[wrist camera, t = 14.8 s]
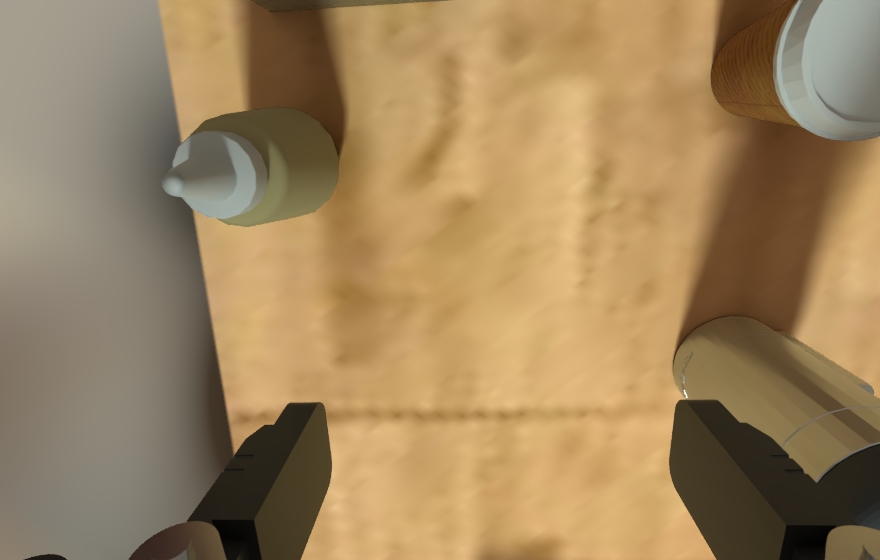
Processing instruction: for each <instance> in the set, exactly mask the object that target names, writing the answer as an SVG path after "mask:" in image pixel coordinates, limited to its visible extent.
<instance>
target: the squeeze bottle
mask: <svg viewBox="0 0 880 560" xmlns="http://www.w3.org/2000/svg"><path fill="white" fill-rule="evenodd" d="M338 173H339V157H338V154H337V151H336V148H335V145H334V142H333V139H332V137H331V136H330V135H329V134H328V133H327V131H326V130H325V129H324V128H323V126H322V125H321V124H320V123H319V121H318V120H316V119H314V118H313V117H311V116H309V115H307V114H306V113H304V112H302V111H300V110H299V109H292V108H284V107H270V108H264V109H257V110H250V111H243V112H237V113H230V114H224V115H221V116H218V117H215V118H212V119H209V120H206V121H204V122H203V123H202V124H201V125H200V126H199V127H198V128H197V129H196V130H195V131H194V132H193V133H192V134H191V135H190V136H189V137H188V138H187V139H186V140H185V141H184V142H183V143H182V144H181V145H180V146H179V147H178V149H177V152H176V155H175V157H174V160H173V168H172V169H170V170H169V171H167V172H166V173H165V174H164V175H163V176H162V180H161V181H162V186H163V189H164V190H165V191H166V192H167V193H168V194H170V195H172V196H178V197H182V198H183V199H184V200H185V201H186V203H188V204H189V206H190V207H191V208H192V209H193V210H195V211H197V212H199V213H201V214H203V215H205V216H206V217H210V218H216V219H218V220H220V221H222V222H224V223H226V224H228V225H236V226H244V227H250V226H255V225H260V224H265V223H270V222H275V221H280V220H285V219H290V218H295V217H298V216H302V215H305V214H309V213H312V212H315V211H316V210H317V209H318V208H320V207H321V206H322V205H323V204H324V203H325V202H327V201H328V200H329V199H330V197H331V195H332V193H333V191H334V188H335V186H336V184H337V182H338Z"/></svg>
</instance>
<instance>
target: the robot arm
mask: <svg viewBox="0 0 880 560" xmlns="http://www.w3.org/2000/svg"><path fill="white" fill-rule="evenodd" d="M673 375H674V379H675V383H676V385H677V387H678V389H679V390H680V392H681V393H682V394H683V396H684V397H685V398H686V399H687V400H679V401H678V402H677V404H676V407H675V414H674V423H673V431H672V440H671V449H670V457H669V466H670V474H671V478H672V481H673V484H674V487H675V489H676V491H677V493H678V494H679V496H680V498H681V499H682V501H683V503H684V504H685V506H686V508H687V510H688V511H689V513H690V515H691V516H692V518H693V520H694V522H695V523H696V525H697V527H698V528H699V530H700V532H701V534H702V535H703V537H704V539H705V540H706V542H707V544H708V545H709V547H710V549H711V551H712V552H713V554H714V556H715V557H716V559H717V560H880V399H879V398H877V397H876V396H874V390H873V388H872V387H871V386H870V385H869V384H868V383H866V382H865V381H863V380H862V379H860V378H858V377H857V376H855V375H854V374H852V373H850V372H849V371H847V370H846V369H844V368H842V367H841V366H839V365H838V364H836V363H834V362H833V361H831V360H830V359H828V358H826V357H825V356H823V355H822V354H820V353H819V352H817V351H815V350H814V349H812V348H811V347H809V346H807V345H806V344H804V343H803V342H801V341H799V340H798V339H796V338H795V337H793V336H791V335H790V334H788V333H787V332H785V331H774V330H772V329H771V328H769V327H768V326H766V325H765V324H763V323H761V322H759V321H757V320H754V319H752V318H748V317H742V316H727V317H722V318H717V319H715V320H712V321H709V322H707V323H705V324H703V325H702V326H700V327H698V328H697V329H695V330H694V331H693V332H692V333H691V334H690V335H688V336H687V337H686V339H685V340H684V341H683V343H682V344H681V345H680V347H679V349H678V351H677V353H676V356H675V360H674V364H673ZM331 472H332V458H331V450H330V442H329V435H328V427H327V420H326V412H325V408H324V405H323V404H322V403H321V402H313V403H289V404H287V406H286V407H285V409H284V410H283V412H282V413H281V415H280V416H279V418H278V419H277V421H276V422H275V424H274V425H264V426H263V427H261V428H260V429H259V430H257V431H256V432H255V433H253V434H252V435H250V436H249V437H248V438H246V440H245V441H244V442H243V444H242V445H241V447H240V448H239V449H238V451H237V452H236V453H235V455H234V458H232V459H231V460H230V462H229V463H228V465H227V466H226V467H225V470H224V472H222V473H221V474H220V476H219V477H218V479H217V480H216V481H215V483H214V484H213V485H212V487H211V488H210V490H209V491H208V492H207V494H206V495H205V497H204V498H203V500H202V501H201V502H200V504H199V505H198V506H197V508H196V509H195V510H194V512H193V513H192V515H191V516H190V517H189V519H188V520H187V522H184V523H180V524H176V525H174V526H171V527H168V528H166V529H164V530H162V531H160V532H158V533H157V534H155V535H153V536H152V537H150V538H149V539H148V540H146V541H145V542H144V543H143V544H141V545H140V546H139V547H138V549H136V550H135V552H134V553H133V554H132V555H131V557H130V558H129V560H301V557H302V554H303V552H304V549H305V547H306V544H307V542H308V539H309V536H310V534H311V531H312V529H313V526H314V524H315V521H316V518H317V516H318V513H319V511H320V508H321V506H322V503H323V500H324V498H325V495H326V493H327V490H328V487H329V484H330V479H331ZM25 560H67V559H66V558H64V557H62V556H59V555H54V554H47V555H39V556H35V557H31V558H28V559H25Z"/></svg>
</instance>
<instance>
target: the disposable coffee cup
mask: <svg viewBox="0 0 880 560" xmlns="http://www.w3.org/2000/svg"><path fill="white" fill-rule="evenodd" d="M711 86H712V91H713V94H714V96H715V98H716V100H717V101H718V103H719V104H720V105H721V106H722V107H723V108H724V109H725V110H726V111H728V112H730V113H732V114H734V115H738V116H744V117H750V118H755V119H760V120H766V121H771V122H776V123H782V124H787V125H793V126H798V127H803V128H805V129H806V130H808V131H810V132H812V133H814V134H815V135H818V136H821V137H824V138H828V139H832V140H840V141H859V140H866V139H871V138H875V137H878V136H880V0H790V1H788V2H787V3H785V4H783V5H782V6H780V7H779V8H777V9H775V10H774V11H772V12H771V13H769V14H767V15H766V16H764V17H763V18H761V19H760V20H758V21H756V22H755V23H753V24H752V25H750V26H748V27H747V28H745V29H743V30H742V31H740V32H739V33H737V34H735V35H734V36H733V37H732V38H730V39H729V40H728V41H727V42H726V43H725V45H724V46H723V47H722V48H721V50H720V52H719V53H718V55H717V57H716V59H715V62H714V64H713V68H712V73H711Z"/></svg>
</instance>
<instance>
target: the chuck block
mask: <svg viewBox="0 0 880 560" xmlns="http://www.w3.org/2000/svg"><path fill="white" fill-rule="evenodd" d="M252 1H254V2H256V3H257V4H259V5H260V6H262V7H264V8H265V9H267V10H269V11H270V12H273V11H289V10H304V9H320V8H336V7H351V6H367V5H383V4H398V3H414V2H429V1H445V0H252Z"/></svg>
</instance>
